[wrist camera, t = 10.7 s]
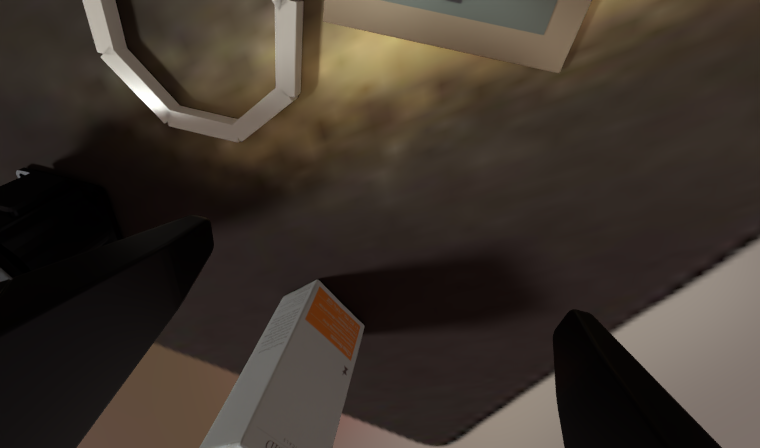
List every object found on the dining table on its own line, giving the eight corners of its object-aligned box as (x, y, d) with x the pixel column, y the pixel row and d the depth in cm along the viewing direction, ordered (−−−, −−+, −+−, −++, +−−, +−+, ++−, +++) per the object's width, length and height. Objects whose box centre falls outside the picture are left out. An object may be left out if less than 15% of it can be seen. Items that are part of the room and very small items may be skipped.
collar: (298, 149, 21) (293, 155, 20) (126, 108, 21) (115, 113, 20) (306, -94, 14) (298, -98, 13) (59, -145, 15) (38, -151, 14)
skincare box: (367, 324, 29) (322, 499, 19) (330, 338, 31) (272, 503, 21) (318, 275, 26) (239, 446, 17) (281, 294, 28) (191, 456, 19)
